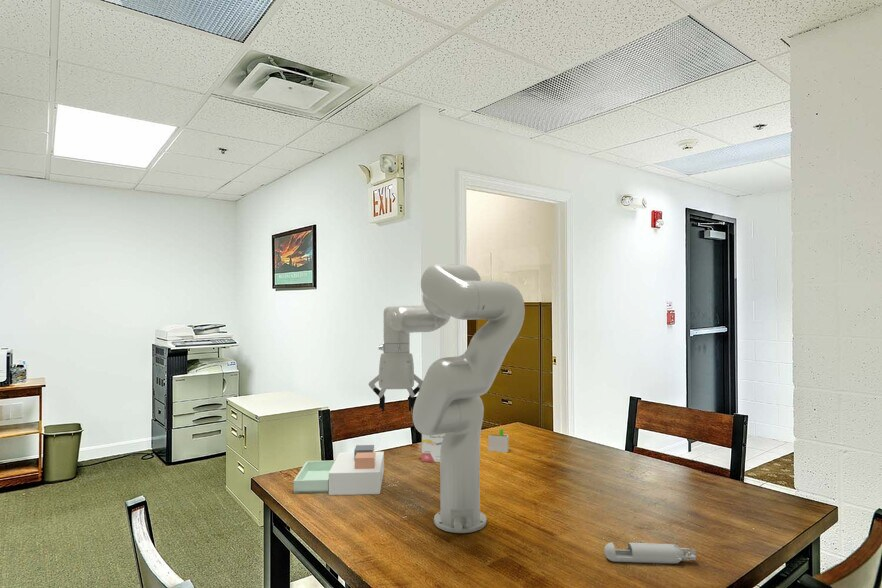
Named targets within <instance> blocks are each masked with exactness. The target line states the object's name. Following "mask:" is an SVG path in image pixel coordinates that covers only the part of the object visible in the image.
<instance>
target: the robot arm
mask: <svg viewBox="0 0 882 588" xmlns="http://www.w3.org/2000/svg"><path fill="white" fill-rule="evenodd" d="M420 289H421V291H422V303H423V305H399V306H394V305H393V306H386V307H384V310H383V343H382V344H379V345H378V350H380V351H382V352H383V353H381V354H380V357H379V358H380V359H379V365H378V366H379V367H378V375H377V376H375V377H374V378H373V379H372V380H371V381H370V382H369V383H368V386H369V388H370V389H371V390H372V391H373V392H374V393H375V394H376V395H377V397H378V398H379V409H381V412H385V411H386V396H385V393H386V391H387V390H407V392H408V395H409V396H408V412H412V421H413V422H412V423H413V426H414V427H415V429H416V430H417V432H419V433H420V434H421V435H422V434H424V435H429V436H431V435H439V434H444V433H445V436H444V438H443V440H442V444H441V449H440V462H439V463H440V464H439V470H440V471H439V472H440V476H439V477H440V478H439V479H440V483H439V484H440V485H439V487H440V488H439V489H440V491H439V493H440V495H439V496H440V497H439V498H440V501H439V503H440V505H439V506H440V511H438V512H437V513H436V514H435V515H434V517H433V524H434V525H435V526H436V527H437V528H438V529H440V530H441V531H444V532H447V533H448V532H449V533H451V534H452V533H454V534H468V533H474V532H478V531H479V530H482V529H483V528H484V527H486V525H487V516H486V514H485V513H483V512H482V511H481V493H480V492H481V489H480V488H481V487H480V485H481V482H480V481H481V477H480V476H481V474H480V470H481V468H480V462H481V461H480V460H481V459H480V457H481V453H480V452H481V450H480V449H481V434H482V427H483V421H484V414H485V413H484V411H485V407H484V406H485V405H484V403H483V399H482V398H481V396H483V395H485V394H487V393H488V391H490V389H491V387H492V385H493V384H494V381H495V379H496V377H497V375H498V373H499V371H500V369H501V367H502V365H503V362H504V360H505V358H506V356H507V354H508V352H509V350H510V348H511V346H512V345H513V344H514V342H515V340H516V339H517V337H518V336H519V333H520V332H521V329H522V327H523V326H524V325H523V324H524V320H525V313H526V311H525V310H526V307H525V300H524V298H523V294H522V293H521V291H520V290H519V289H518V287H516V286H514V285H513V284H511V283H508V282H504V281H496V280H482V279H481V276H480V274H479V273H478V271H477V270H476V269H475V268H473V267H471V266H469V265H464V264H449V263H434V264H432V265H430V266H428V267H426V269H425V270H424V271H423V273H422V275H421V278H420ZM451 317H452V318H454V319H458V320H461V321H462V320H463V321H464V320H465V321H468V320H471V321H472V320H473V321H475V320H487V321H486V323H484V324H483V325H482V326H481V327H480V328H479V329H478V330H477V331H476V332H475V333H474V335H472V338H471V339H470V341H469V344H468V346H467V348H466V350H465V351H464V353H463V354H462V355H459V356H447V357H446V356H445V357H442V358H438V359H437V360H435V361H434V362H432V363H431V364H430V365H429V367H428V369H427V371H426V374H425V376H424V378H423V380H422V379H421V378H420V377H419V376H417V375H416V374H415V365H414V358H413V353H411V352H410V336H411V335H410V334H413V333H430V332H434V331H437V330H438V329H441V328H442V327H443V326H445V325H447V324H448V322H449V321H450V318H451ZM377 382H378V387H379V388H380V389H379V388H378V387H377V386H376V383H377ZM415 382H417V383H418V384H417V386H416V387H414V386H415ZM413 387H414V389H413ZM416 395H417V396H416ZM415 396H416V398H415ZM414 398H415V400H414Z"/></svg>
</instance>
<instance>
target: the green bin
mask: <svg viewBox="0 0 882 588" xmlns="http://www.w3.org/2000/svg"><path fill="white" fill-rule="evenodd" d="M335 460H336V459H333V460H307V461H305V463H304V464H303V466H302V467H301V469H300V470H299V472H298V473H297V474H296V477H295V478H294V479H293V494H323V493H324V494H326V493H328V494H329V472H330V470H331V468H332V466H333V464H334V462H335Z"/></svg>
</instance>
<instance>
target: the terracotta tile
mask: <svg viewBox="0 0 882 588" xmlns="http://www.w3.org/2000/svg"><path fill="white" fill-rule="evenodd" d="M376 452H377V451H374V452H366V453H357V454H356V456H355V469H374V468H375V463H376Z"/></svg>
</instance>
